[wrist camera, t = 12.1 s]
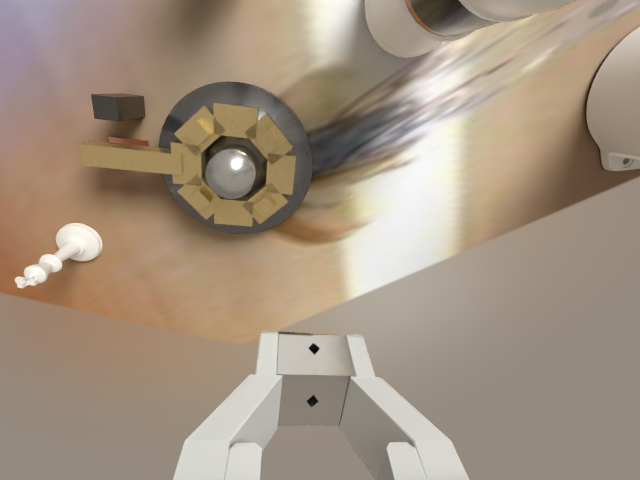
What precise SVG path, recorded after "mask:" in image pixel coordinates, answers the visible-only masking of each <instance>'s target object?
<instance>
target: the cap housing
mask: <svg viewBox="0 0 640 480" xmlns="http://www.w3.org/2000/svg"><path fill="white" fill-rule="evenodd" d="M91 97H92V104H93V110H94V117H95V119H102V120H111V121H124V120H129V119H134V118H140V117H145V107H144V96H138V95H130V94H91ZM215 102H221V103H229V104H237V105H244V106H252V107H259V119H260V118H261V117H262V116H264V115H265V114H266V113H267V112H268V114H269V115H270V116H271V117H272V119H273V120H274V121H275V122H276V124H277V125H278V126H279V127H280V129H281V130H282V131H283V132H284V134H285V135H286V136H287V137H288V139H289V140H290V141H291V143H292V144H293V148H292V149H291V150H290V151H289V152H292V153H296V162H295V172H294V183H293V193H292V195H290V194H287V195H288V203H286V204H285V205H284V206H283V207H281V208H280V209H279V210H278V211H276V212H275V213H274V214H273V215H271V216H270V217H269V218H267V219H266V220H265V221H264V222H262V223H261V224H259V223H258V222H257V221H256V220H255V218H254V222H253V226H252V227H250V226H238V225H226V224H214V214H213V215H211V216H210V217H209V218H208V219H207V220H206V219H205V218H204V217H203V216H202V215H201V214H200V213H199V212H198V211H197V210H196V209H194V208H193V207H192V206H191V205H190V204H189V203H188V202H187V201H186V200H185V199H184V198H183V197H182V196H181V195H180V194H179V193H178V192H177V191H178V190H179V189H180V188H181V187H183V186H184V185H185V184H175V183H173V176H172V174H162V175H163V178H164V180H165V183H166V185H167V187H168V189H169V191H170V192H171V194H172V196H173V197H174V198H175V200H176V201H177V202H178V204H179V205H180V206H181V207H182V208H183V209H184V210H185V211H186V212H187V213H189V214H190V215H191V216H192V217H193V218H195V219H196V220H198V221H199V222H201V223H203V224H205V225H207V226H209V227H211V228H214V229H217V230H220V231H224V232H228V233H236V234H248V233H256V232H260V231H264V230H267V229H270V228H272V227H274V226H276V225H278V224H280V223H281V222H283V221H284V220H286V219H287V218H288V217H289V216H290V215H291V214H293V213H294V211H295V210H296V209H297V208H298V207H299V205H300V204H301V202H302V201H303V199H304V197H305V195H306V193H307V191H308V188H309V185H310V181H311V176H312V152H311V148H310V143H309V140H308V138H307V135H306V132H305V130H304V128H303V126H302V124H301V122H300V120H299V119H298V117H297V116H296V114H295V113H294V112H293V111H292V109H291V108H290V107H289V106H288V105H287V104H286V103H285V102H283V101H282V100H281V99H280V98H278V97H277V96H276V95H274V94H273V93H271V92H269V91H267V90H265V89H263V88H260V87H257V86H254V85H250V84H246V83H240V82H218V83H213V84H209V85H205V86H203V87H200V88H198V89H196V90H194V91H192V92H191V93H189V94H187V95H186V96H185V97H184V98H182V99H181V100H180V101H179V102H178V103H177V104H176V105H175V107H174V108H173V109H172V110H171V112H170V113H169V115H168V117H167V118H166V121H165V123H164V125H163V128H162V131H161V135H160V140H159V148H168V149H171V142H172V141H175V140H179V139H178V138H177V137H176V136H175V135H174V133H175V132H176V131H177V130H178V129H180V128H181V127H182V126H183V125H184V124H185V123H186V122H187V121H188V120H189V119H190V118H191V117H192V116H194V115H195V114H196V113H197V112H198V111H199V110H200V109H201V108H202V107H203V106H205V105H210V106H211V108H212V109H213V103H215ZM108 138H109V142H113V143H122V144H131V145H140V146H149V141H146V140H137V139H128V138H119V137H108ZM205 174H206V180H207V183H208V185H209V187H210V188H211V189H212V190H213V191H214V192H215V193H216V194H217V195H219V196H221V197H223V198H227V199H237V198H240V197H243V196H244V195H245V196H249V195H251V194H252V193H253V192H254V191H255V190H257V189H258V188H259V187H260V186H261V185H263V184H264V183H265V182H266V175H267V159H266V158H265V157H264V156H263V154H262V153H261V152H260V151H259V150H258V148H257V147H256V146H255V145H254V144H253V143H252V141H251V140H250V139H249V138H241V137H232V136H224V135H222V136H220V137H219V138H218V139H217V140H216V141H215V142H214V143H213V144H211V145H210V146H209V147H208V148H207V149H206V173H205Z"/></svg>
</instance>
